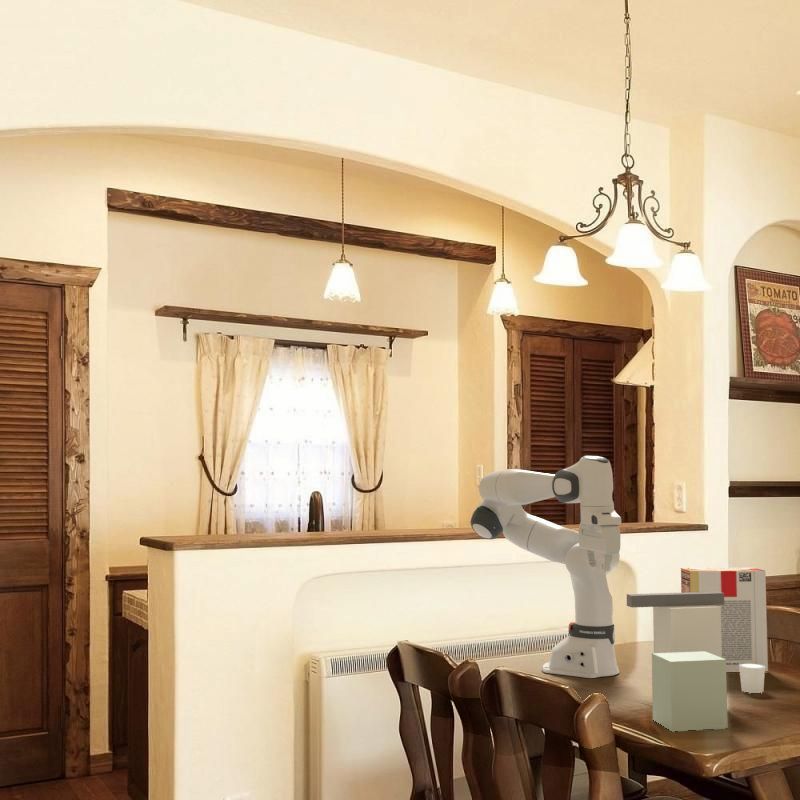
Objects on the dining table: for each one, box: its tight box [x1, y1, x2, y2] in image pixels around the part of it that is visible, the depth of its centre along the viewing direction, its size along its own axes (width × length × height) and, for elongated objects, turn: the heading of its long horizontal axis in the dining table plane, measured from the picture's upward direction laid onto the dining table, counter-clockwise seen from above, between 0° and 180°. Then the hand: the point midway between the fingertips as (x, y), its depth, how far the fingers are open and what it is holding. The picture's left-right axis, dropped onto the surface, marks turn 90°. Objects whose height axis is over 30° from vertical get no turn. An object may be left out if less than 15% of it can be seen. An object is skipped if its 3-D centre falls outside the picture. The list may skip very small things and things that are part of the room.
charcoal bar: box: [626, 592, 724, 608], centre depth 250 cm, size 26×3×3 cm, turn 101°
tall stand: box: [652, 605, 722, 658], centre depth 250 cm, size 14×10×25 cm
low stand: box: [651, 651, 728, 733], centre depth 228 cm, size 14×10×16 cm
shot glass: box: [739, 663, 766, 694], centre depth 261 cm, size 7×7×7 cm
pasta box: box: [680, 567, 769, 672], centre depth 289 cm, size 23×8×30 cm, turn 93°
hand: (599, 568), depth 255 cm, fingers open, 8 cm apart
